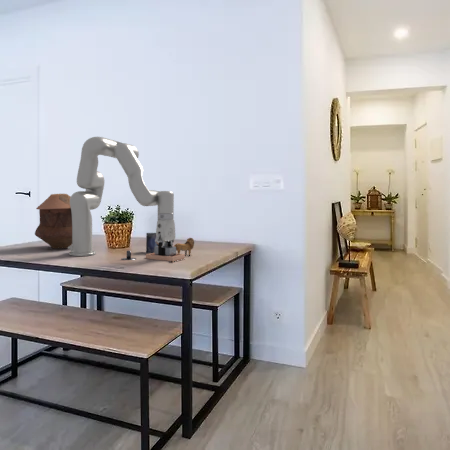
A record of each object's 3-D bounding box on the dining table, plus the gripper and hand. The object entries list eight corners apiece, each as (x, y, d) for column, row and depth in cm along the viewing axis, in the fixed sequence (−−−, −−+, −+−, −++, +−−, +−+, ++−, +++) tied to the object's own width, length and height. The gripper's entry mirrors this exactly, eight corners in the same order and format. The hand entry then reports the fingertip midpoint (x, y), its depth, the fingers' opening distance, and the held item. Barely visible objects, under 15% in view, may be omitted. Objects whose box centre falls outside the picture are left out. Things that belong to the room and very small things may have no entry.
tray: (145, 259, 193) (145, 254, 193) (158, 256, 202) (158, 251, 202) (172, 262, 186) (173, 257, 186) (184, 259, 196) (184, 254, 195)
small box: (146, 254, 209) (146, 234, 208) (145, 252, 215) (145, 232, 214) (167, 253, 212) (167, 233, 211) (165, 251, 218) (166, 232, 217)
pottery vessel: (93, 245, 237) (92, 193, 234) (72, 251, 212) (71, 194, 209) (50, 244, 239) (50, 193, 237) (25, 250, 214) (24, 193, 212)
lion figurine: (189, 254, 212) (189, 237, 211) (196, 255, 208) (197, 237, 208) (168, 257, 201) (168, 239, 200) (175, 258, 197) (175, 240, 197)
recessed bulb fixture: (169, 256, 190) (169, 248, 189) (154, 255, 193) (154, 246, 193) (176, 255, 195) (176, 246, 194) (161, 253, 198) (161, 245, 198)
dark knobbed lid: (117, 260, 188) (117, 251, 188) (127, 258, 195) (127, 249, 194) (129, 261, 185) (129, 252, 185) (139, 259, 192) (139, 250, 191)
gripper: (161, 218, 183) (161, 258, 185) (181, 216, 199) (181, 253, 200) (148, 217, 186) (147, 256, 188) (169, 215, 202) (168, 251, 203)
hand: (165, 254), depth 194 cm, fingers closed on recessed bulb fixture, 5 cm apart
